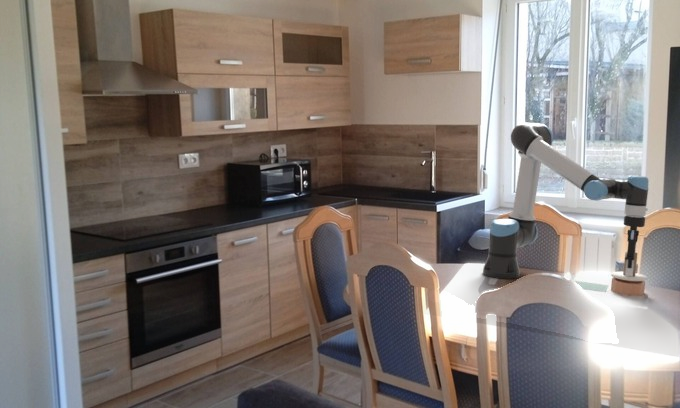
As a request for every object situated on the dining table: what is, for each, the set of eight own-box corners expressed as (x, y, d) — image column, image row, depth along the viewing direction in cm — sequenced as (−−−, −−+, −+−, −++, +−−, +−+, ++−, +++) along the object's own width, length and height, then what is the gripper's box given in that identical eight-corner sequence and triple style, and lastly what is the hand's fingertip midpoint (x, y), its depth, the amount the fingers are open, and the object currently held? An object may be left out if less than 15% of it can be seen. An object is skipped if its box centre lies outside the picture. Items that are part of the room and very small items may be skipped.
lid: (609, 278, 269) (612, 253, 268) (612, 272, 280) (614, 248, 279) (646, 282, 263) (648, 257, 262) (647, 276, 275) (650, 252, 274)
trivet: (570, 288, 276) (570, 287, 276) (575, 282, 287) (575, 280, 287) (605, 293, 270) (605, 292, 270) (608, 286, 282) (608, 285, 282)
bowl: (609, 293, 270) (610, 281, 269) (612, 287, 281) (613, 275, 280) (643, 298, 265) (644, 285, 264) (644, 291, 276) (645, 279, 275)
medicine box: (633, 282, 292) (635, 261, 291) (636, 284, 288) (638, 264, 287) (613, 280, 293) (615, 260, 292) (616, 283, 289) (618, 262, 288)
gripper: (644, 219, 259) (638, 280, 262) (646, 214, 275) (640, 271, 278) (622, 217, 263) (617, 277, 266) (625, 212, 278) (620, 269, 281)
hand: (629, 274), depth 272 cm, fingers closed on lid, 4 cm apart
